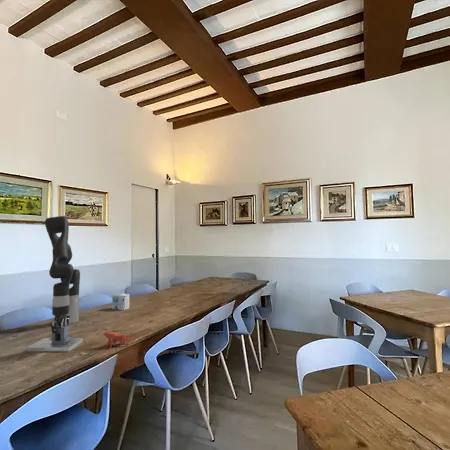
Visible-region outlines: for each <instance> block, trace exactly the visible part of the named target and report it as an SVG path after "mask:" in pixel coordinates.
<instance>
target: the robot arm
mask: <svg viewBox="0 0 450 450" xmlns="http://www.w3.org/2000/svg"><path fill="white" fill-rule="evenodd" d="M44 225H45V230H46V232H47V234H48V237H49V239H50V243H51V246H52V262H51V266H50V268H49V276H50V277H51V278H52V279H60V282H57V283H54V284H53V288H52V289H53V290H52V291H53V293H52V301H51V302H52V303H51V304H52V305H51V306H52V307H51V310H52V311H51V315H52V316H54V320H53V321H51V322H50V328H51V334H52V333H55V341H60V332H61V328H62V326H66V325H67V326H69V325H71V324H75V323H78V322H79V319H80V318H79V317H80V280H81V271H80V269H75V268H74V267H73V264H72V263H70V262H71V260H72V258H73V252H72V248H71V245H70V244H69V243H68V241H69V231H70V230H69V221H68V218H67V216H65V215H60V216H59V215H58V216H52V217H51V216H50V217H47V218H46V219H45V222H44ZM58 234H60V236H59V235H58ZM70 285H72V287H70ZM58 326H60V327H58ZM58 328H59V331H58ZM54 329H55V331H54Z"/></svg>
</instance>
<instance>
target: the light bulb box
mask: <svg viewBox="0 0 450 450" xmlns="http://www.w3.org/2000/svg"><path fill="white" fill-rule="evenodd" d="M111 307H112V308H111V309H112V310H117V309H118V311H125V309H126V310H127V309H130V293H114V294H112V305H111Z"/></svg>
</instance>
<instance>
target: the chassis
mask: <svg viewBox="0 0 450 450" xmlns="http://www.w3.org/2000/svg"><path fill="white" fill-rule="evenodd" d="M51 338H52V337H43V338H42V339H40V340H38V341H36V342H34V343H32V344H30V345H28V346H27V347H26V352H61V353H62V352H68V353H69V352H71V351H72V350H73V349H75V348H76V347H78V346H79V345H80V344H82V343H83V341H84V338H83V337H71V338H70V339H68V342H67V343H66V344H52V340H49V339H51Z"/></svg>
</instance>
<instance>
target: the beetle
mask: <svg viewBox="0 0 450 450" xmlns="http://www.w3.org/2000/svg"><path fill="white" fill-rule="evenodd" d="M118 320H119V319H117V320H116V325H115V326H117V325H118V323H119V321H118ZM103 336H105V338H106V339H108V340H107V343H106V342H105V343H104V345H106V346H103V349H105V348H107V347H108V346H109V344H110V347H109V350H110V349H111V348H112V347H113V346H115V345H116V344H117V342H119V343H120V344H121V345H125V347H126V348H129V347H130V345H127V342H130V340H133V339H135V338H136V335H135V334H132V335H127V334H123V333H119V334H118V332H115V331H105V332H103Z"/></svg>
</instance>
